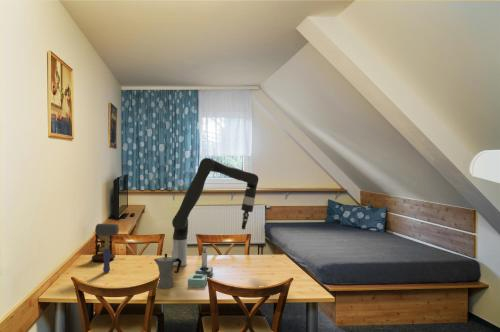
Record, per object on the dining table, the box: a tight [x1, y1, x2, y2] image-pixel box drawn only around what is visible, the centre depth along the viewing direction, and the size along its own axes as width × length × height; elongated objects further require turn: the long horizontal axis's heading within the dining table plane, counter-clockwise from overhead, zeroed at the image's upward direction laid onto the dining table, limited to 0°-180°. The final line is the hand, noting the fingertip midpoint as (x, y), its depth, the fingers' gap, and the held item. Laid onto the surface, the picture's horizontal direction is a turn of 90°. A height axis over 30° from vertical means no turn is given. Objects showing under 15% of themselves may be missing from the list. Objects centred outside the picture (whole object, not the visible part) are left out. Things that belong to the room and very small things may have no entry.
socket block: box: [194, 265, 214, 277], centre depth 219 cm, size 9×9×4 cm
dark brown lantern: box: [91, 233, 116, 262], centre depth 247 cm, size 15×15×20 cm
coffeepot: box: [153, 253, 182, 290], centre depth 200 cm, size 15×9×18 cm, turn 90°
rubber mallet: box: [95, 222, 120, 273], centre depth 221 cm, size 12×8×30 cm, turn 93°
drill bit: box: [201, 246, 208, 270], centre depth 219 cm, size 3×3×17 cm
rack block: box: [187, 273, 207, 288], centre depth 204 cm, size 9×9×4 cm
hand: (243, 228), depth 235 cm, fingers open, 8 cm apart
